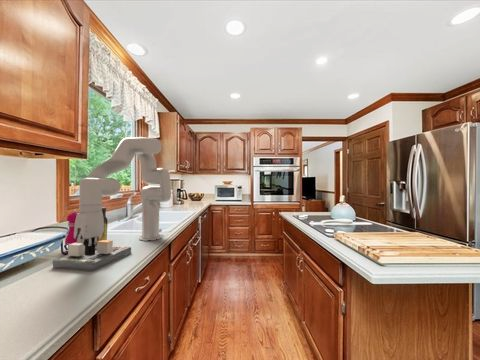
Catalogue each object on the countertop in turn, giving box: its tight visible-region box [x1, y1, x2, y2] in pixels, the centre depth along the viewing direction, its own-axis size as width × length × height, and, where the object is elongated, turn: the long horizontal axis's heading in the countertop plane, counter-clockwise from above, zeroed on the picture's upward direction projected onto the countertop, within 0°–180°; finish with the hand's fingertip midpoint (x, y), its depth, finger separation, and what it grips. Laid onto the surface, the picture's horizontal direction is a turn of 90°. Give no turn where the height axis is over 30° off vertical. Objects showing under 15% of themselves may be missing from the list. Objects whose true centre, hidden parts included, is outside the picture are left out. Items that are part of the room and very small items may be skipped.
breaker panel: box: [52, 245, 132, 273], centre depth 96 cm, size 22×18×3 cm
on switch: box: [67, 243, 85, 256], centre depth 92 cm, size 3×5×4 cm, turn 80°
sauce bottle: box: [95, 206, 109, 246], centre depth 121 cm, size 6×6×20 cm
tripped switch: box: [97, 239, 114, 254], centre depth 95 cm, size 3×5×5 cm, turn 80°
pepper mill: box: [64, 209, 79, 245], centre depth 110 cm, size 7×7×20 cm
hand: (89, 255), depth 88 cm, fingers closed
